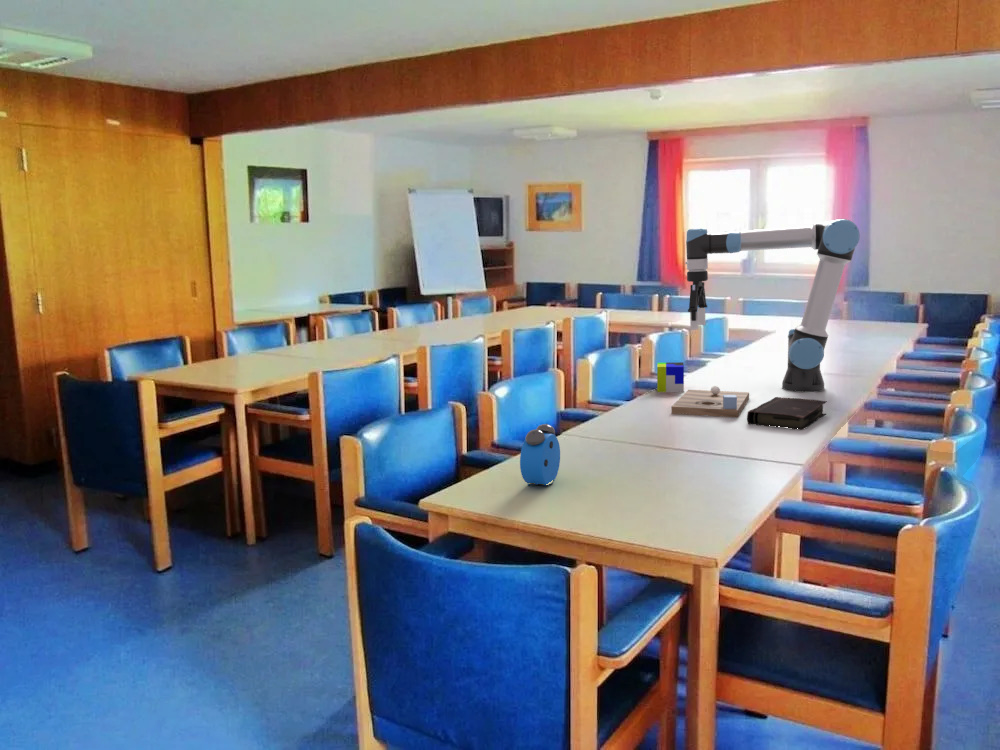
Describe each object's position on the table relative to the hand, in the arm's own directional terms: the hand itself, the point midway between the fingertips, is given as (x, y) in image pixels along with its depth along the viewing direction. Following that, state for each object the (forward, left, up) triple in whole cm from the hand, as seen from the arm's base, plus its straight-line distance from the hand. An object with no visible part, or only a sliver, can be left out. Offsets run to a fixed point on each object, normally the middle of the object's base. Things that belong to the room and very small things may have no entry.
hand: (698, 327), depth 309 cm
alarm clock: (+17, +123, -25) cm, 127 cm away
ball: (-9, +14, -21) cm, 27 cm away
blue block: (-17, +34, -23) cm, 44 cm away
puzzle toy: (+11, -4, -26) cm, 28 cm away
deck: (-9, +21, -25) cm, 34 cm away
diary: (-36, +35, -26) cm, 56 cm away
